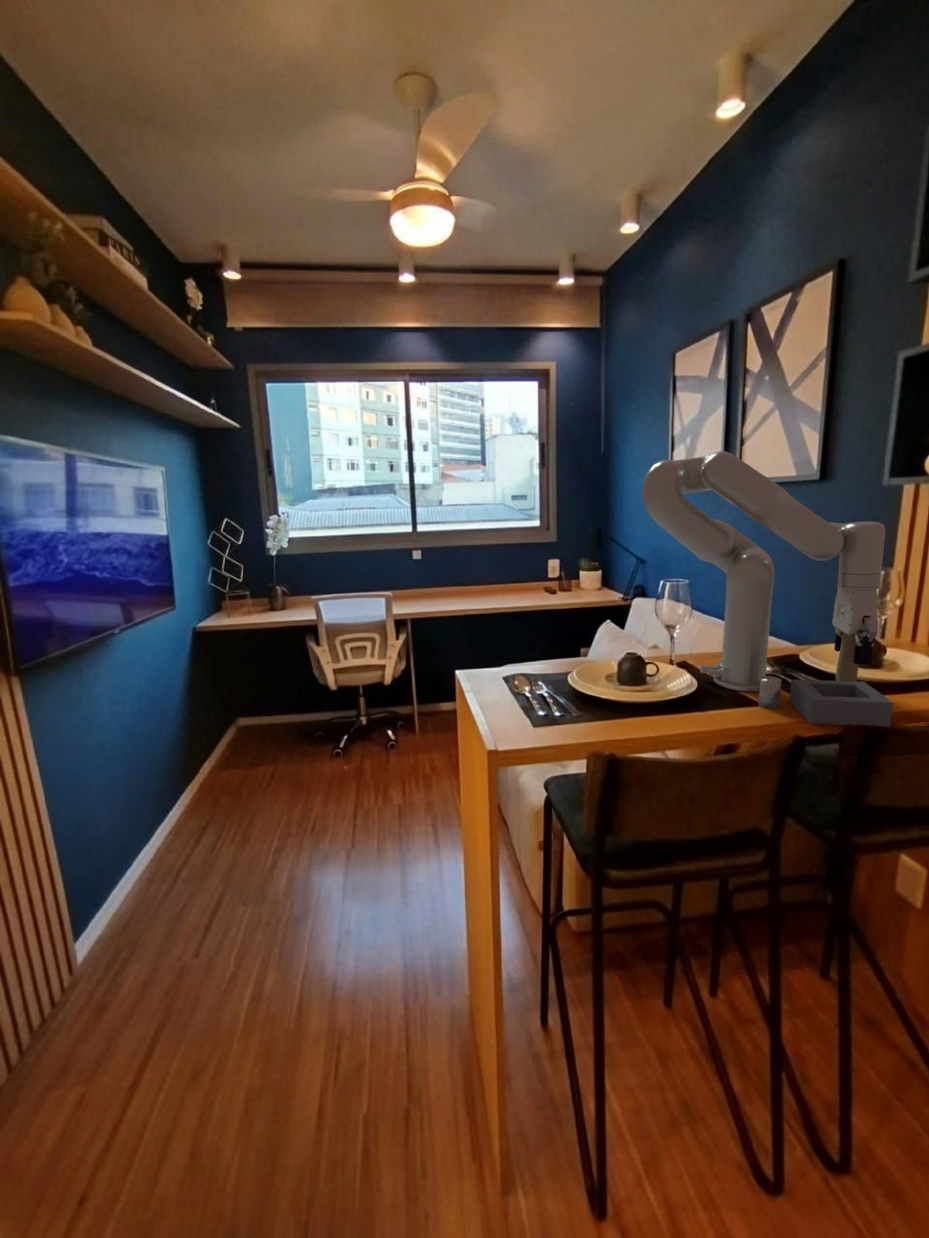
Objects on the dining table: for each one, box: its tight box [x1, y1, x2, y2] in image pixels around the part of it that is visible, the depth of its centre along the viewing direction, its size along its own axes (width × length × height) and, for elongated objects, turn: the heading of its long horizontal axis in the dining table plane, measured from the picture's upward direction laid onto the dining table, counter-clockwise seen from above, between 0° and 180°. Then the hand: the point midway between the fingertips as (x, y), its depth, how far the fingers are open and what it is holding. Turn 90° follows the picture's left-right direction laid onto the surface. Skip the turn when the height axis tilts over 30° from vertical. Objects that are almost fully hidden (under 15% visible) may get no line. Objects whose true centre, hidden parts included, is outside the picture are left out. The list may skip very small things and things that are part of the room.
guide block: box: [789, 679, 894, 728], centre depth 116 cm, size 14×12×5 cm
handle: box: [834, 627, 866, 682], centre depth 125 cm, size 5×6×15 cm
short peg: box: [757, 675, 782, 710], centre depth 121 cm, size 4×4×6 cm
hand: (851, 657), depth 124 cm, fingers open, 9 cm apart
